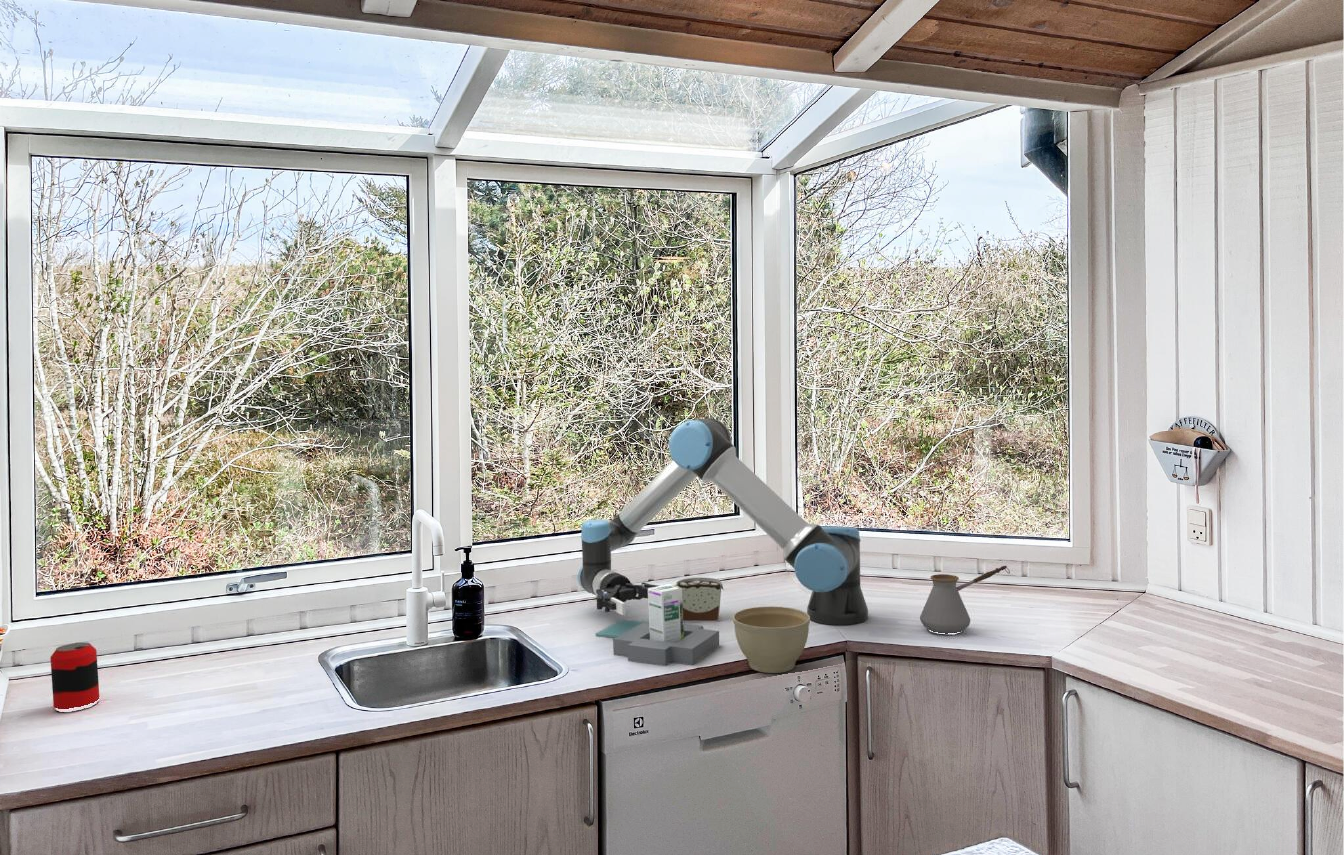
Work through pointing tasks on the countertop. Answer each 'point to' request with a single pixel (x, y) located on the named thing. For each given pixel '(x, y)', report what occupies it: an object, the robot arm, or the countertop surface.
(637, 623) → the service mat
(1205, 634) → the countertop surface
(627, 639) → the frame
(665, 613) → the syrup box
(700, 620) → the food container
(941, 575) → the coffee pot
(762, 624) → the planter bowl
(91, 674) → the soda can
